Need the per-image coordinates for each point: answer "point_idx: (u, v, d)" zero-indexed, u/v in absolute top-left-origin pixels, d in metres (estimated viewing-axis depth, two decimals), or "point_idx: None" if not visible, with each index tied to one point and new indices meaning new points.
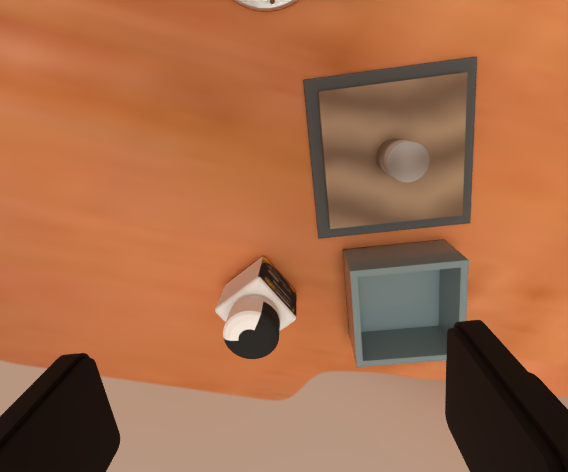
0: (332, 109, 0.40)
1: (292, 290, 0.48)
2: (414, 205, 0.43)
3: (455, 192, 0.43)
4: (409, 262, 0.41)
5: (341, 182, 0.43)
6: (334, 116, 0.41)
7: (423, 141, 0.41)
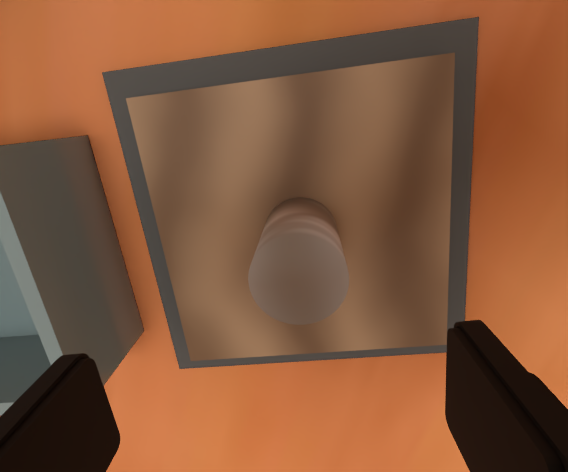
0: (409, 90, 0.17)
1: None
2: (202, 279, 0.21)
3: (232, 346, 0.23)
4: (57, 295, 0.17)
5: (241, 121, 0.18)
6: (393, 96, 0.17)
7: None
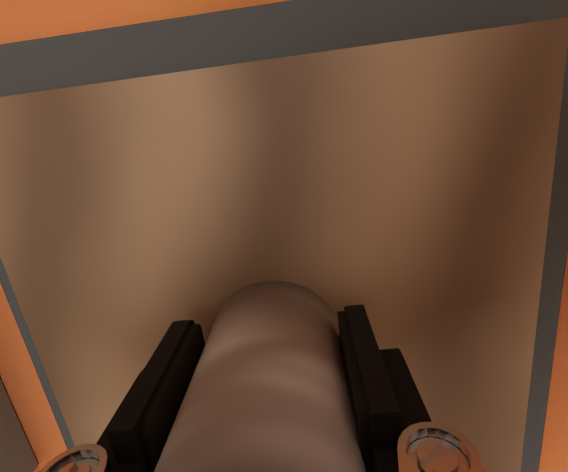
0: (478, 90, 0.09)
1: None
2: (112, 408, 0.13)
3: None
4: None
5: (160, 148, 0.10)
6: (446, 102, 0.09)
7: None
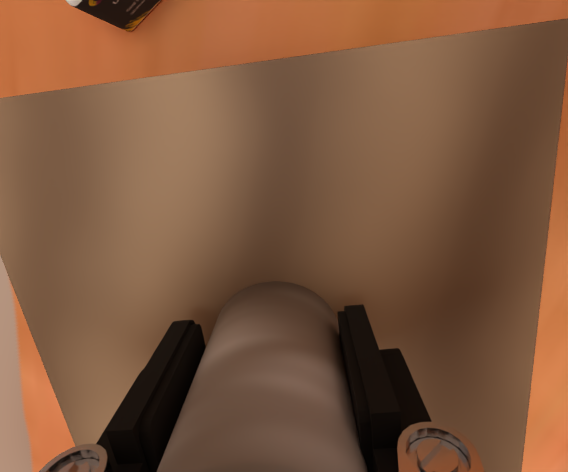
0: (479, 92, 0.09)
1: (133, 20, 0.24)
2: (113, 409, 0.13)
3: None
4: None
5: (162, 149, 0.10)
6: (447, 103, 0.09)
7: None
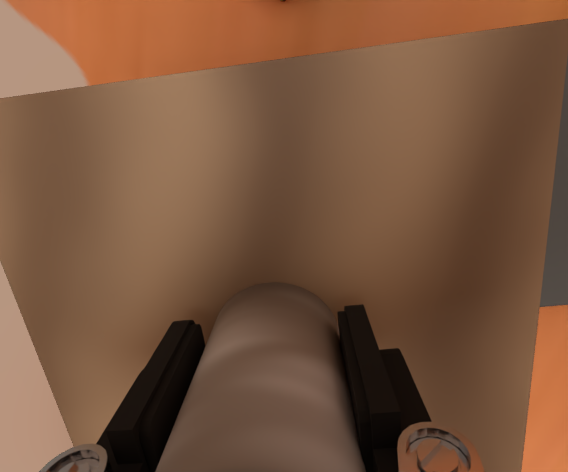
0: (478, 92, 0.09)
1: None
2: (111, 410, 0.13)
3: None
4: None
5: (160, 150, 0.10)
6: (447, 103, 0.09)
7: None
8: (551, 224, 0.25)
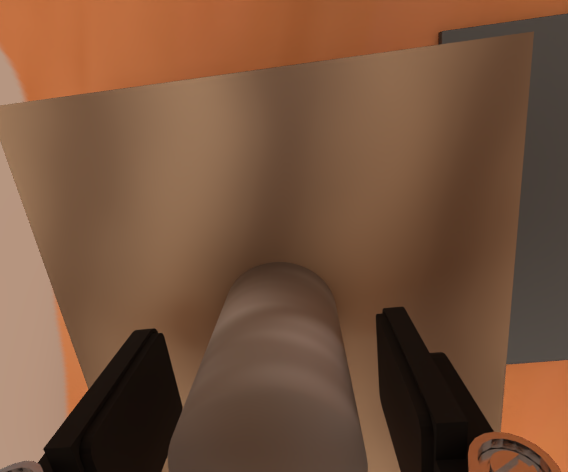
0: (456, 94, 0.10)
1: None
2: None
3: None
4: None
5: (180, 144, 0.11)
6: (428, 104, 0.11)
7: None
8: None
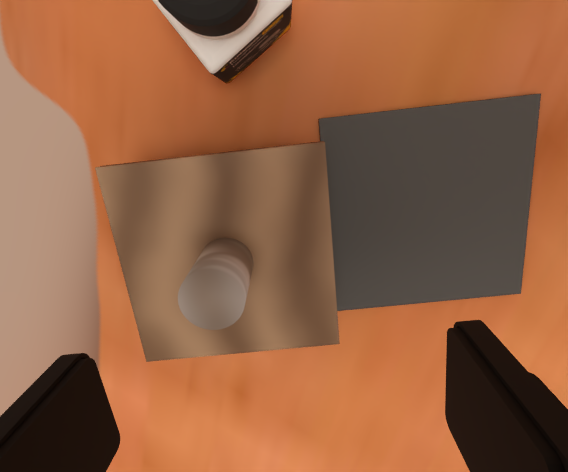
0: (297, 165, 0.25)
1: (235, 75, 0.30)
2: (154, 298, 0.28)
3: (178, 349, 0.29)
4: None
5: (180, 184, 0.25)
6: (286, 169, 0.25)
7: (249, 301, 0.28)
8: (429, 241, 0.35)
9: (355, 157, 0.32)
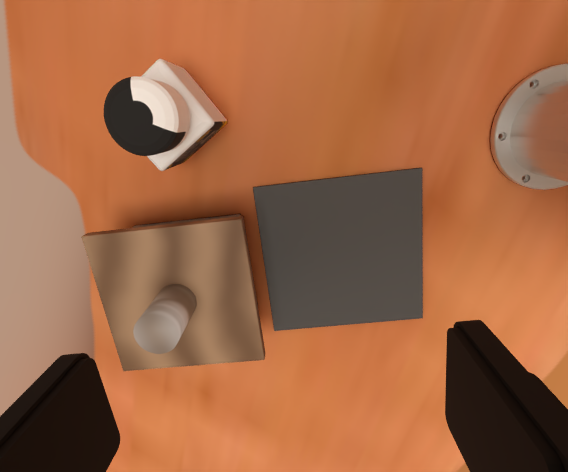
0: (222, 235, 0.35)
1: (186, 158, 0.40)
2: (126, 325, 0.38)
3: (146, 362, 0.40)
4: None
5: (141, 247, 0.36)
6: (215, 237, 0.35)
7: (195, 328, 0.38)
8: (345, 277, 0.44)
9: (283, 215, 0.42)
